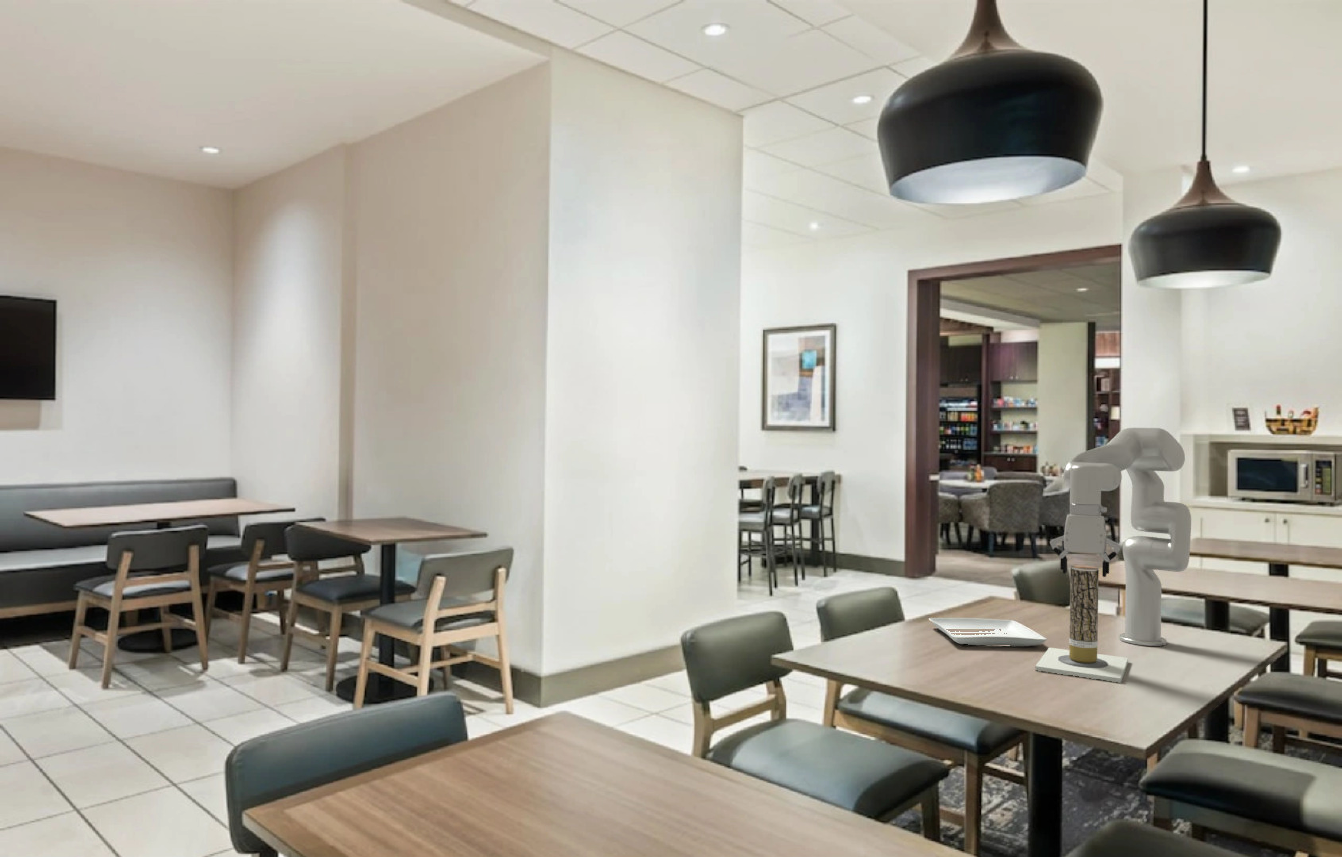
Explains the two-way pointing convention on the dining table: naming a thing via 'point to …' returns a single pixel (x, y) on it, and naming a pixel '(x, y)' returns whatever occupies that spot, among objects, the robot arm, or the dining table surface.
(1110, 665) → the seat board
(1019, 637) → the square plate
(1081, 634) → the paper tube
